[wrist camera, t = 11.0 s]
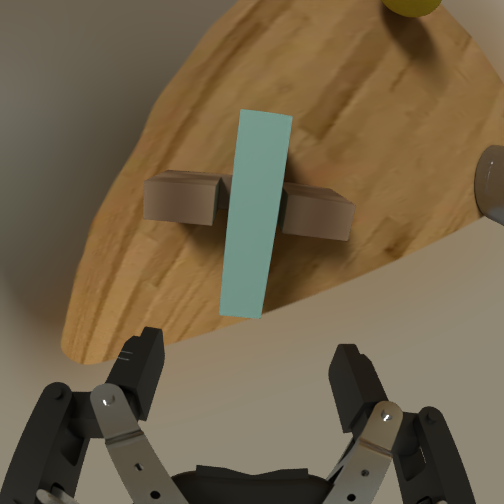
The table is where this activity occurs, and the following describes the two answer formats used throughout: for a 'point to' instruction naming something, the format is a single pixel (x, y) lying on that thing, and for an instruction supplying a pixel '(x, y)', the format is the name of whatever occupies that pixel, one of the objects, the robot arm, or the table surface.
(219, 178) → the brown wooden u-shaped block
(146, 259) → the table surface
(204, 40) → the table surface
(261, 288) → the teal arch block
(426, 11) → the lemon
